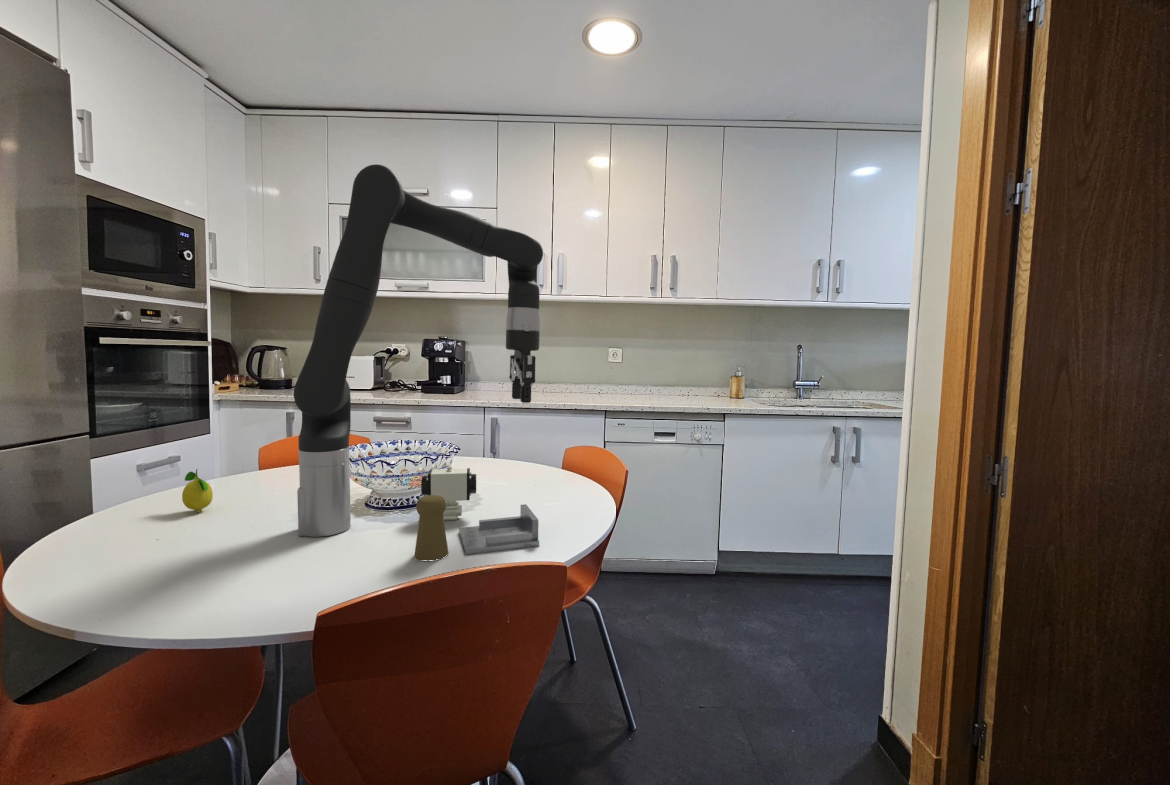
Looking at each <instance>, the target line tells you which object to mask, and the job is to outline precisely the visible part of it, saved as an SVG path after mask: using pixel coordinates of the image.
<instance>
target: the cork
mask: <svg viewBox="0 0 1170 785" xmlns="http://www.w3.org/2000/svg"><path fill="white" fill-rule="evenodd" d="M415 506H416V507H415V508H416V512H417V514H418V515H419V517H418V526H417V534H416V540H415V548H414V549H415V550H414V555H413V557H414V556H415V557H414V559H415V558H416V559H415V560H417V559H418V560H417V561H419V560H436V559H440V560H442V559H441V558H443V557H445V556H446V555H447V554H448V555H449V549H448V548H449V547H448V540H447V534H446V527H445V521H444V518H443V513H444V511H445V508H446V502H445V499H444V498H443V497H442V496H439V495H426V496H422V497H420V498H418V500H417V501H416V505H415ZM448 555H447V556H448ZM447 556H446V557H447ZM446 557H445V558H446ZM443 559H444V558H443Z"/></svg>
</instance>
